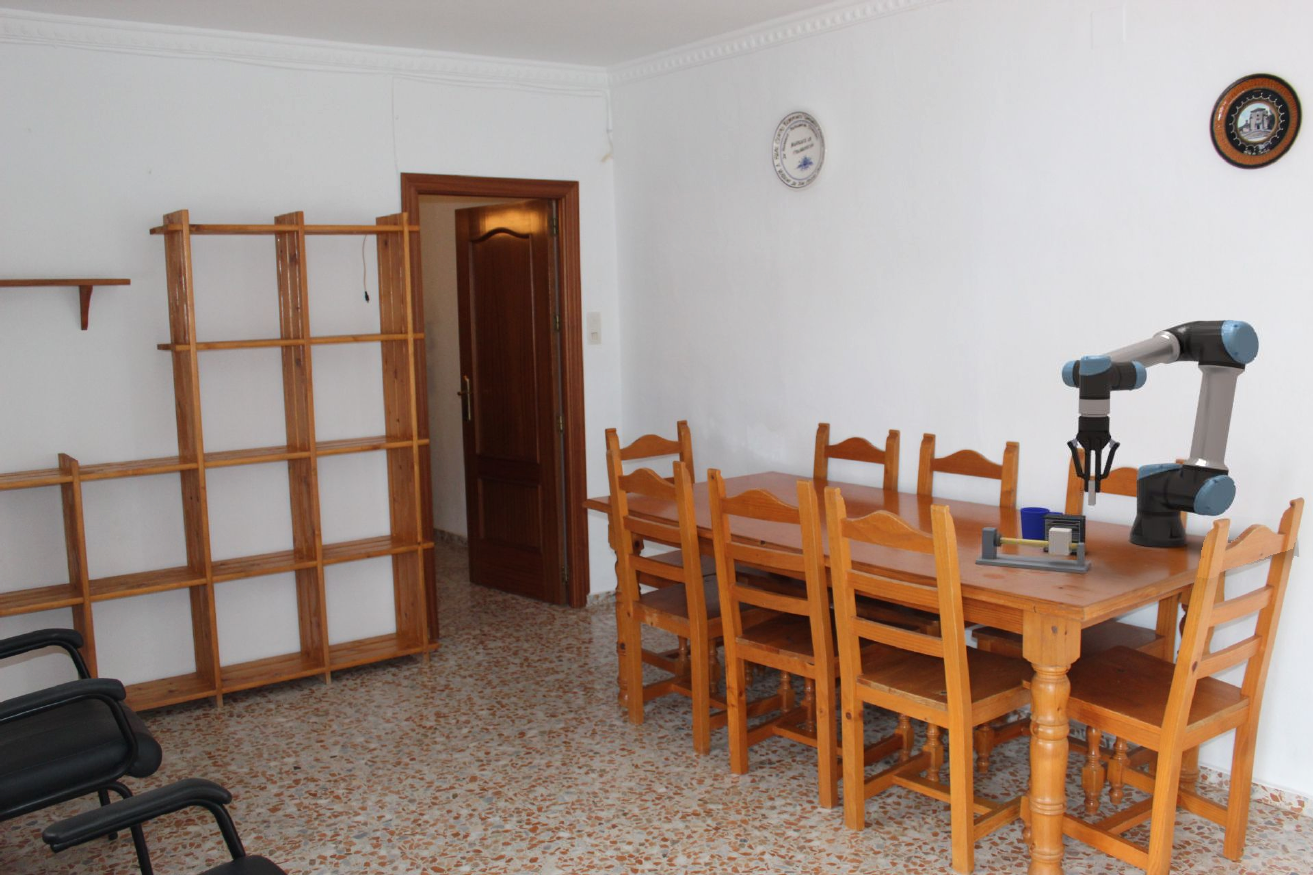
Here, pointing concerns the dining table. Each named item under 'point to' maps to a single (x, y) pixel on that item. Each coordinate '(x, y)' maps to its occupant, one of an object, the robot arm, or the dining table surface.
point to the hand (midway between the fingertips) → (1091, 504)
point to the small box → (1069, 522)
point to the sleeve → (1060, 541)
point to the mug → (1034, 522)
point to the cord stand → (992, 558)
